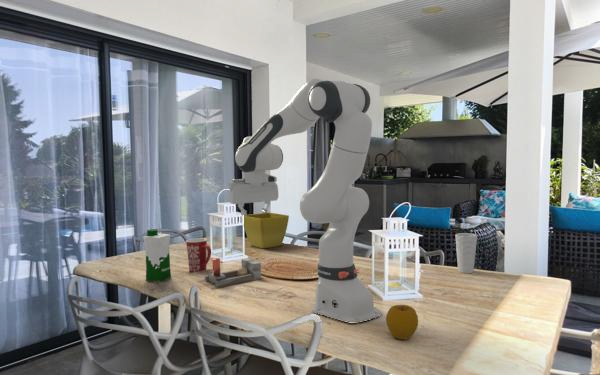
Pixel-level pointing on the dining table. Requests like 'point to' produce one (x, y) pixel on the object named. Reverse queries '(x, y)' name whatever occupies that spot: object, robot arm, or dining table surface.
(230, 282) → the cracker bed
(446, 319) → the dining table surface
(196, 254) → the mug
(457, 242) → the cup
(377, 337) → the dining table surface
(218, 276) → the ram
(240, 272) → the nut
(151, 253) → the milk carton
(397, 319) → the apple
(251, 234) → the flower pot
